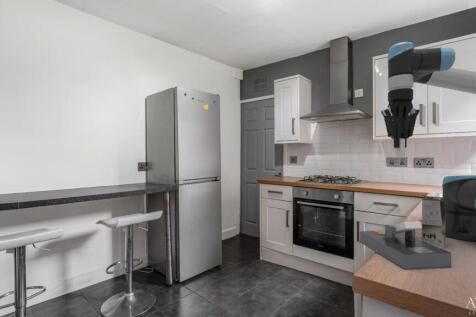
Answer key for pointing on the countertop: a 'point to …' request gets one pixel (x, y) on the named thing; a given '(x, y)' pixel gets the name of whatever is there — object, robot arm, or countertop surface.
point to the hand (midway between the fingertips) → (400, 157)
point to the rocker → (404, 227)
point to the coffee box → (433, 220)
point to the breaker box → (405, 249)
